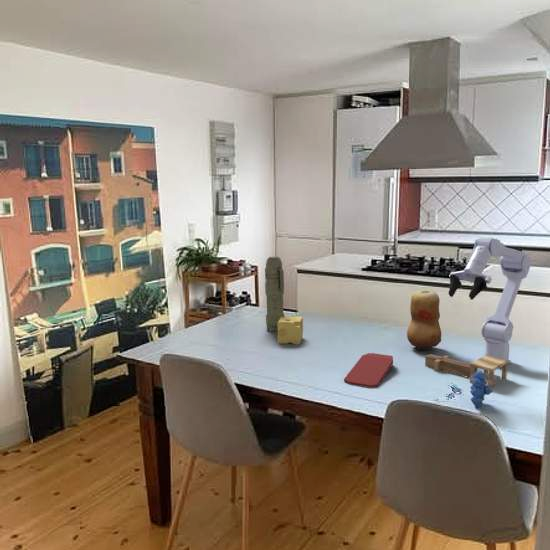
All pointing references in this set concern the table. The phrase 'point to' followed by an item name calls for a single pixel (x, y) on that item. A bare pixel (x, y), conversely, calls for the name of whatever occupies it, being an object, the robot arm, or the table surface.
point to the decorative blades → (454, 389)
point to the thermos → (274, 292)
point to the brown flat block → (496, 378)
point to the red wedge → (369, 370)
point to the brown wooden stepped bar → (448, 365)
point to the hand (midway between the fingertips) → (460, 296)
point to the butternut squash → (424, 320)
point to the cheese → (290, 330)
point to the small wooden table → (489, 367)
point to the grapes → (479, 388)
